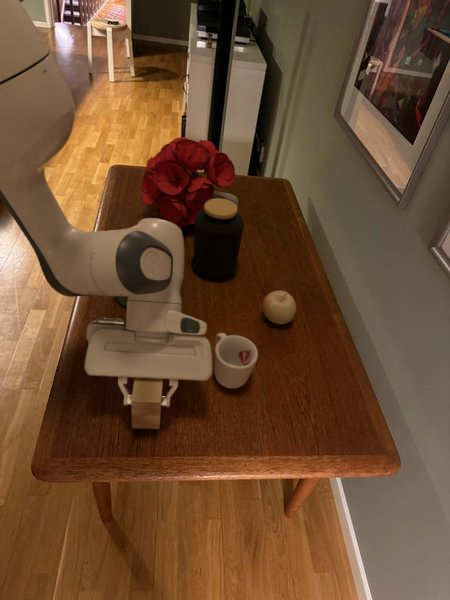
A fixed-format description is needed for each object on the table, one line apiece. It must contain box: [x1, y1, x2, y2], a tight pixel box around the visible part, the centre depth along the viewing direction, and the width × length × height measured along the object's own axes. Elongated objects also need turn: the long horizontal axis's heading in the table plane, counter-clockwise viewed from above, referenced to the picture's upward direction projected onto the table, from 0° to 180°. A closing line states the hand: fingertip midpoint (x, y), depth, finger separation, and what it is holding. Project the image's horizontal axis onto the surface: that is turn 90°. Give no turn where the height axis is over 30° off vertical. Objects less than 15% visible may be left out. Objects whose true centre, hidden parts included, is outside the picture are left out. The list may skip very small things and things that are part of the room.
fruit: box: [261, 289, 297, 325], centre depth 90 cm, size 8×7×8 cm
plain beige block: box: [130, 378, 164, 430], centre depth 66 cm, size 4×4×8 cm
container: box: [191, 198, 245, 279], centre depth 97 cm, size 12×12×18 cm
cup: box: [214, 332, 259, 389], centre depth 77 cm, size 11×8×8 cm
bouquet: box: [140, 136, 239, 228], centre depth 113 cm, size 22×24×30 cm
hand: (147, 405), depth 65 cm, fingers closed on plain beige block, 4 cm apart
